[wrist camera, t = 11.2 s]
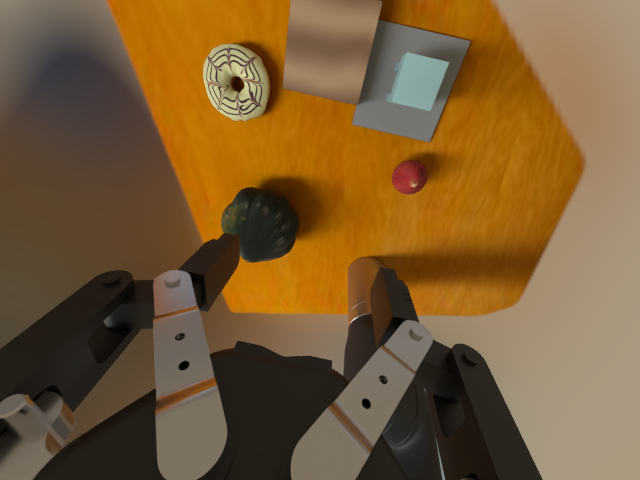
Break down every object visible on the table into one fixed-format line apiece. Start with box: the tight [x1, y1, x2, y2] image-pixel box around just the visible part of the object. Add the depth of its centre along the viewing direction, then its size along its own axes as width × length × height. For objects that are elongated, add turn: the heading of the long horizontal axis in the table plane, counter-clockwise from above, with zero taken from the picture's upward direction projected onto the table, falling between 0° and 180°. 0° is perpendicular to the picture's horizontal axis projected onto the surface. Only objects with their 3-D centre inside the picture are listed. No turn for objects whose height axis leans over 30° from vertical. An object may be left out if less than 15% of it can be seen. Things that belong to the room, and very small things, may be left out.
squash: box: [221, 187, 299, 262], centre depth 47 cm, size 14×15×15 cm
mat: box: [352, 20, 471, 142], centre depth 38 cm, size 14×14×1 cm
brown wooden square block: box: [283, 0, 383, 105], centre depth 35 cm, size 12×12×4 cm
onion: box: [392, 160, 427, 194], centre depth 42 cm, size 6×6×8 cm
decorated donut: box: [203, 44, 271, 121], centre depth 39 cm, size 10×11×4 cm
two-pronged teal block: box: [386, 52, 449, 111], centre depth 34 cm, size 6×6×8 cm
